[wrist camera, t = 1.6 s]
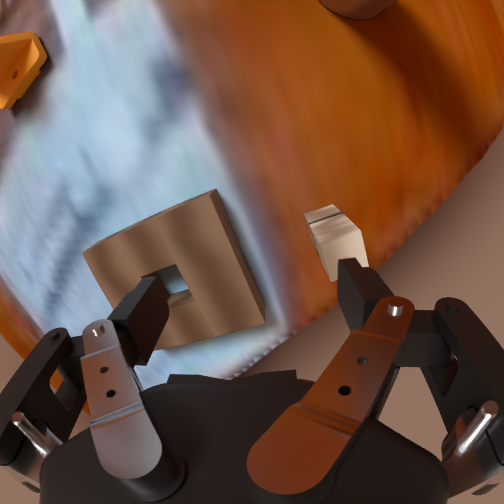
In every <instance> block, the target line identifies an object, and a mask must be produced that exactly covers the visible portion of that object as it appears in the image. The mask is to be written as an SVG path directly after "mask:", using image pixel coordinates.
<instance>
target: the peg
mask: <svg viewBox="0 0 504 504" xmlns="http://www.w3.org/2000/svg"><path fill="white" fill-rule="evenodd" d="M304 217H305V220H306V223H307V226H308V229H309V232H310V235H311V238H312V241H313V244H314V246H315V248H316V250H317V253H318V256H319V257H320V259H321V261H322V263H323V266H324V268H325V270H326V272H327V274H328V277H329V279H330V281H331V282H333V281H335V280H338V260H339V259H344V258H353V257H355V258H356V259H357V260H358V262H359V263H360V264H361V266H362V267H369V265H368V261H367V256H366V251H365V247H364V242H363V238H362V234H361V231H360V230H359V229H358V228H357V227H356V226H355V225H354V224H353V223H352V222H351V221H350V220H349V219H348V218H347V217H346V216H345V215H344V214H343V212H341V211H340V210H339V209H338V208H337V207H336V206H334V205H333V204H332V205H329V206H326V207H323V208H320V209H317V210H314V211H311V212H308V213H305V214H304Z"/></svg>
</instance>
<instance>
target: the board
mask: <svg viewBox="0 0 504 504" xmlns="http://www.w3.org/2000/svg"><path fill="white" fill-rule="evenodd" d="M82 254H83V256H84V258H85V260H86V262H87V264H88V266H89V268H90V270H91V272H92V273H93V275H94V277H95V279H96V281H97V282H98V284H99V286H100V288H101V289H102V291H103V293H104V294H105V296H106V298H107V299H108V301H109V303H110V304H111V306H112V308H113V309H115V308H116V306H118V304H119V303H120V301H121V300H122V299H123V298H124V296H125V295H126V294H127V293H129V292H130V291H131V290H133V289H134V288H135V287H136V286H137V285H138V283H139V282H140V281H141V280H142V278H148V277H159V275H158V273H157V271H158V270H160V269H163V268H166V267H169V266H171V265H174V264H176V265H177V267H178V269H179V271H180V273H181V275H182V277H183V279H184V281H185V282H186V284H187V286H188V288H189V289H187V290H184V291H181V292H178V293H175V294H172V295H169V294H168V292H167V290H166V288H165V286H164V285H163V283H162V285H163V289H164V292H165V295H166V299H167V302H168V305H169V319H168V321H167V323H166V325H165V327H164V329H163V331H162V333H161V335H160V337H159V340H158V342H157V344H156V346H155V348H154V350H153V351H155V350H160V349H165V348H170V347H174V346H179V345H183V344H187V343H192V342H196V341H200V340H204V339H209V338H213V337H217V336H220V335H224V334H228V333H232V332H236V331H240V330H243V329H247V328H251V327H254V326H258V325H261V324H265V304H264V301H263V299H262V297H261V294H260V292H259V290H258V287H257V285H256V283H255V280H254V278H253V275H252V273H251V271H250V268H249V266H248V264H247V261H246V259H245V257H244V254H243V252H242V250H241V247H240V245H239V242H238V240H237V238H236V235H235V233H234V231H233V228H232V226H231V223H230V221H229V219H228V216H227V214H226V212H225V209H224V207H223V204H222V202H221V200H220V197H219V195H218V192H217V190H216V189H213V190H211V191H208V192H206V193H203V194H201V195H198V196H196V197H194V198H191V199H189V200H187V201H184V202H182V203H180V204H177V205H175V206H173V207H170V208H168V209H166V210H164V211H161V212H159V213H157V214H155V215H153V216H150V217H148V218H146V219H144V220H142V221H140V222H137V223H135V224H133V225H131V226H129V227H127V228H125V229H123V230H121V231H119V232H117V233H115V234H113V235H111V236H109V237H107V238H105V239H103V240H101V241H99V242H97V243H95V244H94V245H93V246H91V247H90V248H88V249H87V250H86V251H84V252H83V253H82ZM159 278H160V277H159ZM161 282H162V281H161Z"/></svg>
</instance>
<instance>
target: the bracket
mask: <svg viewBox="0 0 504 504" xmlns="http://www.w3.org/2000/svg"><path fill="white" fill-rule="evenodd" d="M46 58H47V54H46V52H45V50H44V48H43V46H42V44H41V42H40V40H39V38H38V36H37V34H36V33H32V32H23V33H17V34H11V35H5V36H1V37H0V108H1V109H10V108H11V107H12V106H13V104H14V103H15V101H16V100H17V99H21V97H22V96H23V95H24V93H25V92H26V90H27V89H28V88H29V86H30V85H31V84H32V82H33V81H34V80H35V78H36V77H37V76H38V74H39V73H40V72H41V71H40V67H41V66H42V65H43V64H44V62H45V61H46Z"/></svg>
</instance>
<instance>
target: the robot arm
mask: <svg viewBox="0 0 504 504" xmlns="http://www.w3.org/2000/svg"><path fill="white" fill-rule="evenodd" d="M319 1H320V2H321V3H322V4H323V5H324V6H325V7H327V8H328V9H330V10H331V11H333V12H335V13H337V14H339V15H342V16H344V17H348V18H352V19H369V18H372V17H375V16H376V15H378V14H379V13H380V12H381V11H382V10H383V9H384V8H389V7H390V6H391V5H392V4H394V3H395V2H396V1H397V0H319ZM337 294H338V302H339V305H340V307H341V310H342V312H343V314H344V317H345V319H346V322H347V324H348V327H349V329H350V332H351V334H350V335H349V337H348V338H347V340H346V341H345V343H344V344H343V346H342V347H341V348H340V350H339V351H338V353H337V354H336V355H335V357H334V358H333V360H332V361H331V363H330V364H329V365H328V366H327V368H326V369H325V370H324V372H323V373H322V374H321V376H320V377H319V379H318V380H317V381H316V382H313V381H309V380H303V379H297V376H296V370H287V371H275V372H263V373H259V374H255V375H251V376H247V377H243V378H238V379H233V380H224V379H218V378H213V377H208V376H203V375H183V374H170V375H169V378H168V381H167V383H164V384H160V385H156V386H153V387H150V388H148V389H146V390H144V389H143V387H142V385H141V383H140V381H139V378H138V376H137V374H136V372H135V370H134V366H135V365H142V366H146V365H147V363H148V361H149V359H150V357H151V354H152V352H153V350H154V348H155V346H156V344H157V342H158V340H159V337H160V335H161V333H162V331H163V329H164V327H165V325H166V323H167V321H168V319H169V305H168V302H167V299H166V295H165V292H164V289H163V285H162V282H161V279H160V278H159V277H148V278H142V280H141V281H140V282H139V283H138V285H137V286H136V287H135V288H134V289H133V290H131V291H130V292H129V293H127V294H126V295H125V296H124V298H123V299H122V300H121V301H120V303H119V304H118V306H116V308H115V309H114V310H113V312H112V313H111V314H110V316H109V317H108V318H107V319H101V320H97V321H95V322H92V323H91V324H89V325H88V326H87V327H86V328H85V329H84V330H83V333H82V335H81V336H76V337H70V335H69V333H68V331H67V329H65V328H56V329H53V330H51V331H49V332H48V333H47V334H45V335H44V337H43V338H42V339H41V340H40V341H39V343H38V344H37V345H36V346H35V348H34V349H33V350H32V351H31V353H30V354H29V355H28V357H27V358H26V359H25V360H24V362H23V363H22V365H21V366H20V367H19V369H18V370H17V371H16V372H15V374H14V375H13V377H12V378H11V379H10V381H9V382H8V384H7V385H6V386H5V388H4V389H3V391H2V392H1V394H0V467H1V468H2V469H3V470H4V471H6V472H7V473H8V474H9V475H11V476H12V477H13V478H14V479H16V480H17V481H19V482H21V483H22V484H23V485H25V486H26V487H27V488H29V489H30V490H32V491H33V492H36V493H40V503H39V504H449V503H451V502H454V501H455V500H458V499H460V498H462V497H464V496H466V495H469V494H474V495H482V494H486V493H487V492H489V491H490V490H492V489H493V488H494V487H496V486H497V485H498V484H500V483H501V482H502V481H503V480H504V349H503V348H502V347H501V345H500V344H499V343H498V342H497V340H496V339H495V338H494V336H493V335H492V334H491V333H490V332H489V330H488V329H487V328H486V326H485V325H484V324H483V323H482V322H481V320H480V319H479V318H478V317H477V316H476V314H475V313H474V312H473V311H472V310H471V309H470V308H469V306H468V305H467V304H466V303H464V302H463V301H461V300H459V299H456V298H451V297H447V298H442V299H439V300H438V301H437V302H436V304H435V309H434V310H415V308H414V305H413V304H412V302H411V301H409V300H408V299H406V298H403V297H399V296H394V294H393V293H392V292H391V290H390V289H389V288H388V286H387V285H386V284H385V283H384V281H383V280H382V279H381V278H380V276H379V275H378V273H377V272H376V271H374V270H373V269H371V268H369V267H362V266H361V264H360V263H359V262H358V260H357V259H356V258H355V257H353V258H344V259H339V260H338V282H337ZM454 356H456V358H457V360H456V358H455V357H454ZM457 361H458V362H457ZM400 367H420V368H421V371H422V373H423V375H424V377H425V379H426V382H427V384H428V386H429V388H430V391H431V393H432V395H433V397H434V400H435V402H436V405H437V407H438V409H439V412H440V414H441V417H442V419H443V422H444V424H445V427H446V430H447V432H448V434H447V435H446V437H445V438H444V440H443V442H442V446H441V451H442V462H441V461H440V460H439V459H438V458H437V457H436V456H435V455H433V454H432V453H431V452H429V451H427V450H426V449H424V448H422V447H421V446H419V445H417V444H415V443H414V442H412V441H410V440H409V439H407V438H405V437H404V436H402V435H400V434H399V433H397V432H395V431H394V430H392V429H391V428H389V427H388V426H386V425H384V424H383V423H381V422H380V421H378V419H379V416H380V414H381V412H382V409H383V407H384V404H385V402H386V400H387V398H388V395H389V393H390V391H391V389H392V386H393V384H394V382H395V380H396V377H397V375H398V373H399V370H400ZM56 368H57V370H58V372H59V373H60V375H61V376H62V378H63V379H64V380H63V382H62V383H61V385H60V387H59V388H58V390H57V392H56V394H54V393H53V391H52V390H51V388H50V383H49V382H50V378H51V376H52V375H53V373H54V371H55V370H56ZM87 399H88V403H89V408H90V412H91V416H92V423H91V424H90V427H88V428H87V429H85V430H84V431H82V432H80V433H79V434H77V435H76V436H74V437H73V438H71V439H69V436H70V434H71V432H72V429H73V427H74V425H75V423H76V421H77V419H78V417H79V414H80V412H81V410H82V408H83V406H84V404H85V402H86V400H87ZM68 439H69V440H68Z"/></svg>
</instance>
